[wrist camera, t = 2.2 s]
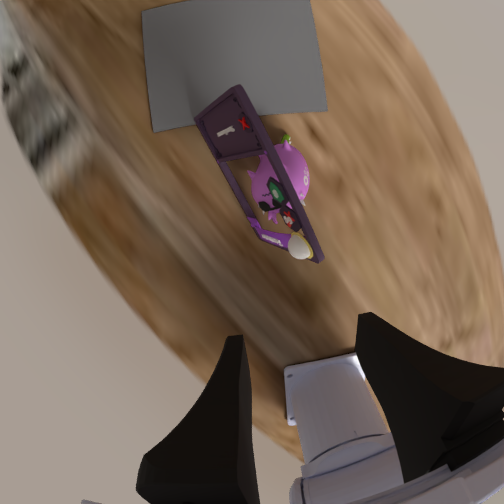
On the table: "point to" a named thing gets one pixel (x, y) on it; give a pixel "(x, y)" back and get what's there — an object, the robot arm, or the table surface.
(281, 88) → the mat
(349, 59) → the table surface
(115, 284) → the table surface
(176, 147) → the table surface
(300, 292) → the table surface
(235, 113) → the purple monster photo frame
